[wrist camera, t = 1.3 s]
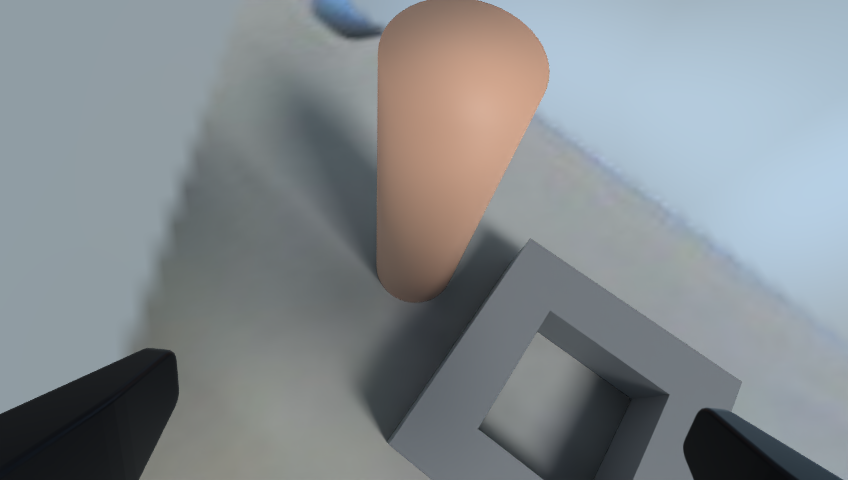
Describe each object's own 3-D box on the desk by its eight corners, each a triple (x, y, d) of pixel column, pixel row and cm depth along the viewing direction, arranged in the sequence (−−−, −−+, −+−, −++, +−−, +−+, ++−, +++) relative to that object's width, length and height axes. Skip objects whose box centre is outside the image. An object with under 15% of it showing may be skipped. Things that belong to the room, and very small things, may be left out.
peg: (423, 318, 22) (491, 161, 9) (360, 271, 22) (341, 63, 10) (466, 259, 23) (578, 53, 10) (407, 217, 24) (443, -26, 11)
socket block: (601, 617, 18) (643, 652, 15) (386, 442, 19) (388, 444, 17) (695, 387, 22) (742, 381, 19) (512, 260, 23) (530, 238, 21)
